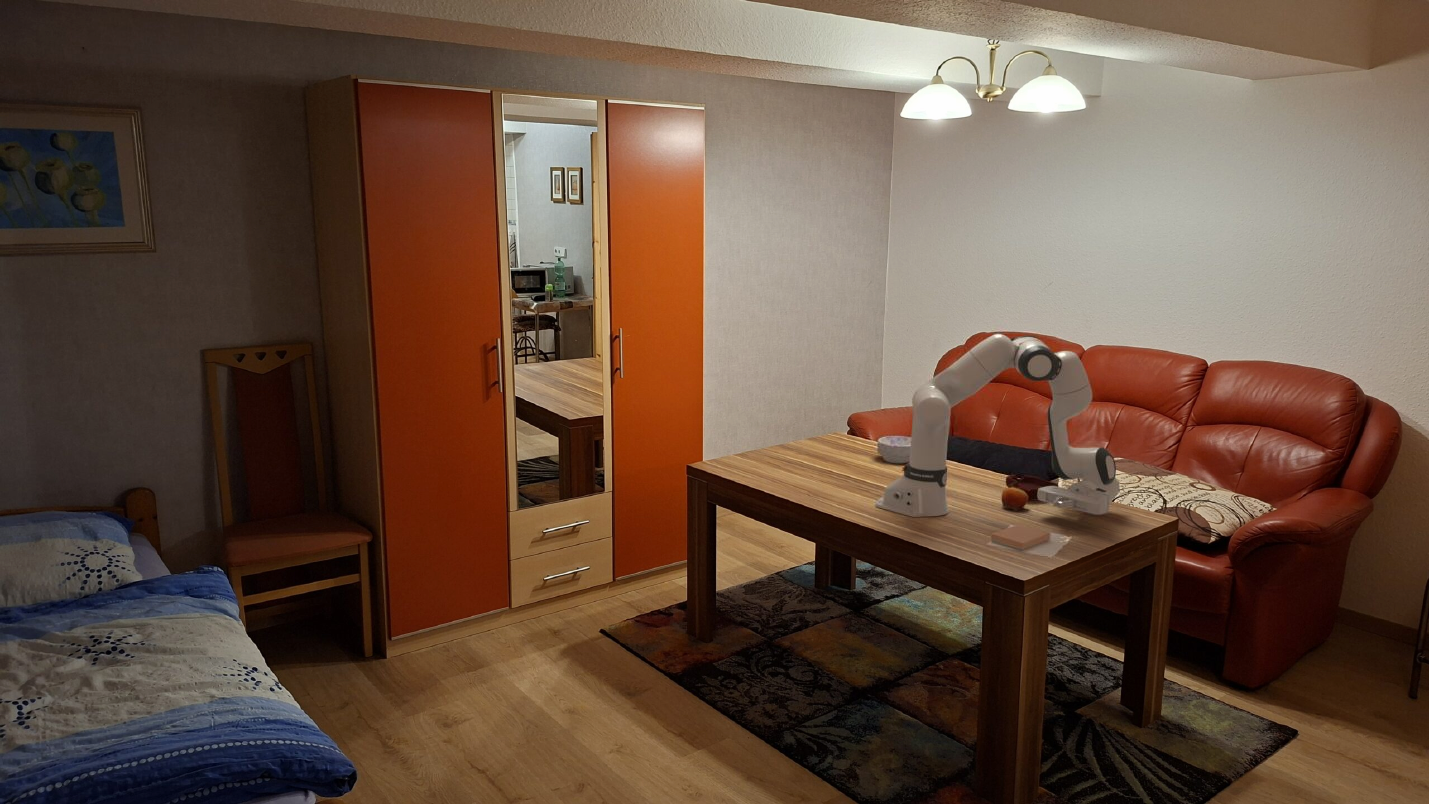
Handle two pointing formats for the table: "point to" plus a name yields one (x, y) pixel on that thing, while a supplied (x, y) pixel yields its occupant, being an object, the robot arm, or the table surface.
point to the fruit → (1014, 498)
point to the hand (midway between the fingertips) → (1057, 504)
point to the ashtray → (1028, 484)
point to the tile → (1020, 537)
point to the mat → (1041, 546)
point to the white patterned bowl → (895, 449)
